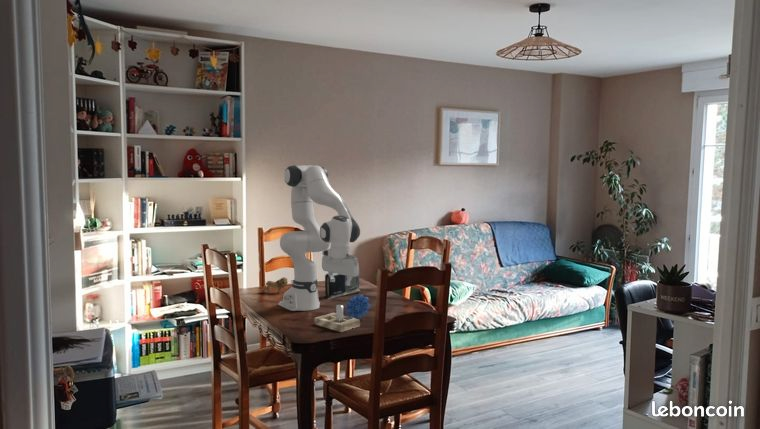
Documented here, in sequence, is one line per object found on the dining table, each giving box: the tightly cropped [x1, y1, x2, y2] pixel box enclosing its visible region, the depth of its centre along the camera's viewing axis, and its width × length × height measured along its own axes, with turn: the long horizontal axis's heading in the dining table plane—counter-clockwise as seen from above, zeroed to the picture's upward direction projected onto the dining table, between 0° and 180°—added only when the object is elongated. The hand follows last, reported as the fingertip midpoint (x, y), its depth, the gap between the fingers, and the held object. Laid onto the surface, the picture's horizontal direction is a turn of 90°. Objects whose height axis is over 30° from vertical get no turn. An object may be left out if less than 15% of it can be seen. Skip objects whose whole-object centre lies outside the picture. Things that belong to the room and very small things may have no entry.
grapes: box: [345, 293, 371, 320], centre depth 264 cm, size 12×7×12 cm, turn 97°
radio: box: [324, 272, 361, 300], centre depth 310 cm, size 23×9×15 cm, turn 126°
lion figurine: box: [261, 277, 289, 295], centre depth 312 cm, size 15×5×9 cm, turn 86°
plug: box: [335, 304, 344, 323], centre depth 250 cm, size 3×3×10 cm
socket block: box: [314, 312, 361, 333], centre depth 254 cm, size 17×12×3 cm
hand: (340, 283), depth 249 cm, fingers open, 8 cm apart
